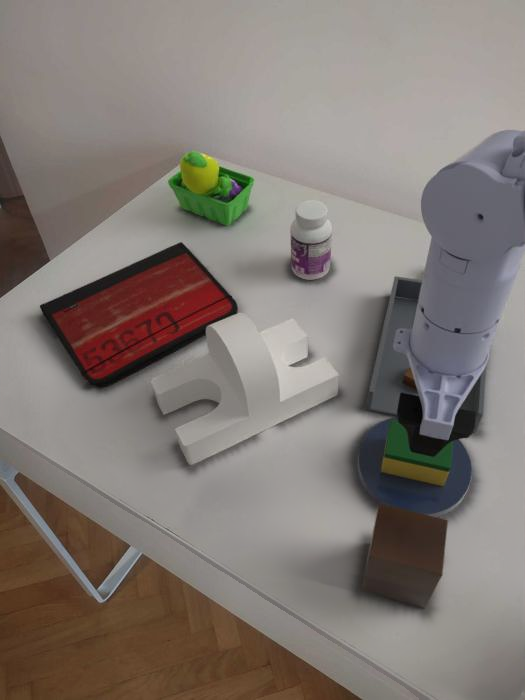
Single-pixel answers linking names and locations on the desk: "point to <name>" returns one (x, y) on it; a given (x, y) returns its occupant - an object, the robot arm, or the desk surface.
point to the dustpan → (396, 364)
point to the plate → (408, 490)
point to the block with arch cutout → (244, 384)
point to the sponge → (414, 459)
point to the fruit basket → (211, 188)
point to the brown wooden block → (405, 555)
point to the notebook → (138, 314)
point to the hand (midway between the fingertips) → (428, 414)
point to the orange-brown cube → (409, 379)
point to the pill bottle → (311, 240)
